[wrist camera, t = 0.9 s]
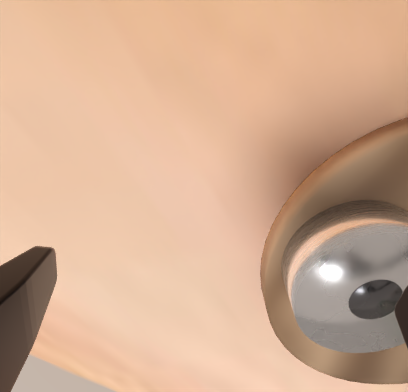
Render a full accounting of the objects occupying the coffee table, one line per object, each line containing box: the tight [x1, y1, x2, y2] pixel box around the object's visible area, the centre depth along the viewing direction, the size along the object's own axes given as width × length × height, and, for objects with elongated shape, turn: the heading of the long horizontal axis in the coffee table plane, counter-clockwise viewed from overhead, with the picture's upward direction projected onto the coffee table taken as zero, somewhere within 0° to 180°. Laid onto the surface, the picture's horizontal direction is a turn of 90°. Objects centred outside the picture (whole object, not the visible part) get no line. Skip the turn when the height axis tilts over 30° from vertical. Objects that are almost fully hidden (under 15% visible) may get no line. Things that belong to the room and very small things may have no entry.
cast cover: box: [281, 200, 408, 353], centre depth 18 cm, size 8×8×3 cm
